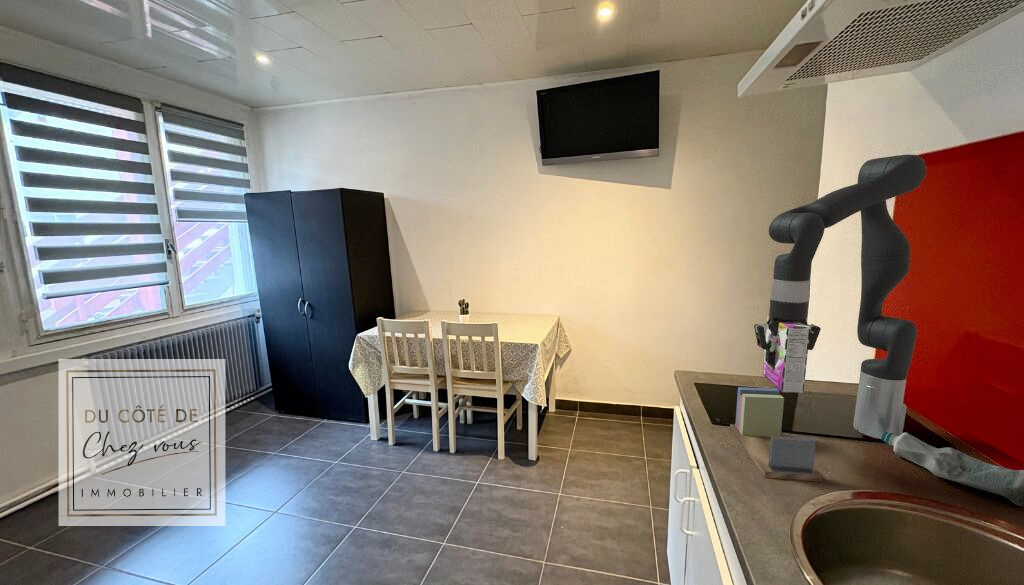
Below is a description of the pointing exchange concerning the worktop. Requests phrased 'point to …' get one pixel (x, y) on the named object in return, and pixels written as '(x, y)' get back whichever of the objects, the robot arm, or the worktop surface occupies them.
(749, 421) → the row of books
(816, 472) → the shelf board
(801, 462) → the bookend
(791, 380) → the candy bar box
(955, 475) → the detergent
